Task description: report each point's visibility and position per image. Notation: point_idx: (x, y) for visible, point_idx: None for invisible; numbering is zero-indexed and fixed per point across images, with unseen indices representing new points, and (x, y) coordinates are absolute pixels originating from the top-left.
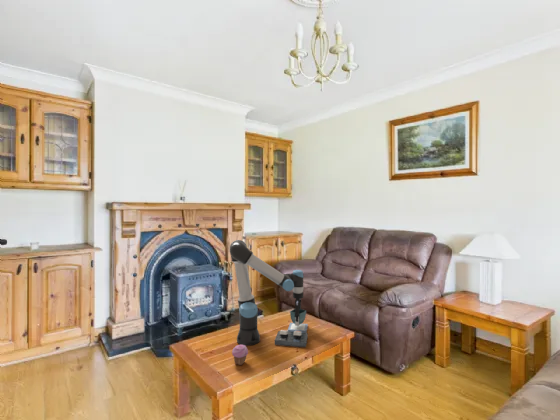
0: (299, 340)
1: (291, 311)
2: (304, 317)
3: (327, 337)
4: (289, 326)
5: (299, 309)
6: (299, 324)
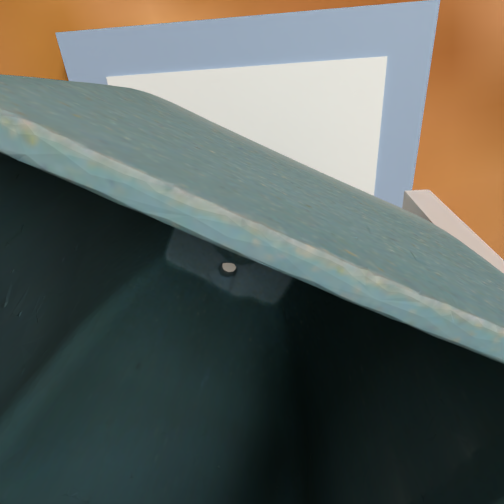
0: None
1: (65, 164)
2: (247, 421)
3: None
4: (225, 33)
5: (465, 493)
6: (158, 270)
